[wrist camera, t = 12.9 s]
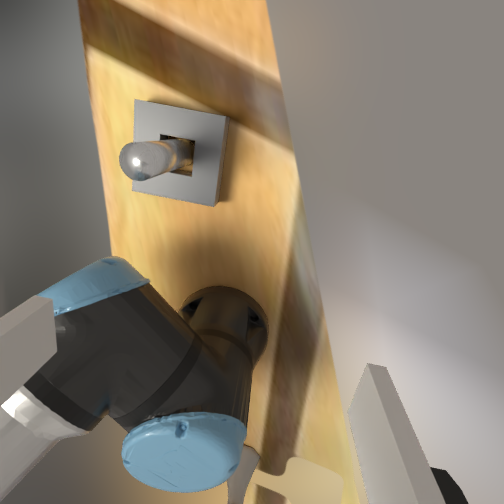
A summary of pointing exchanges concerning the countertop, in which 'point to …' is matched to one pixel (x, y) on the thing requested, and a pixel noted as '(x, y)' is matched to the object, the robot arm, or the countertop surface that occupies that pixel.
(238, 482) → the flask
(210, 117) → the socket block
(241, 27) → the countertop surface
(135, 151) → the steel peg
